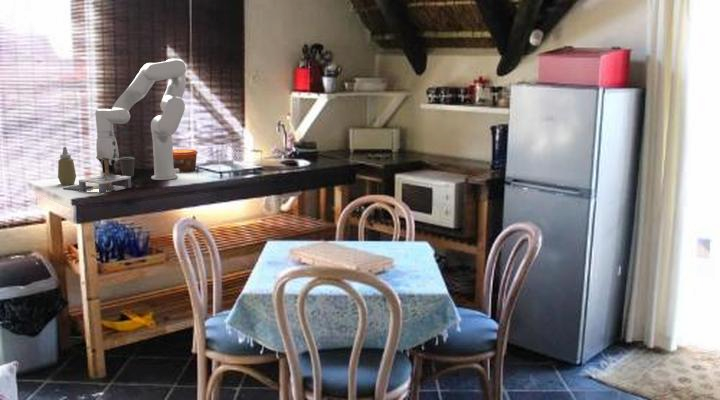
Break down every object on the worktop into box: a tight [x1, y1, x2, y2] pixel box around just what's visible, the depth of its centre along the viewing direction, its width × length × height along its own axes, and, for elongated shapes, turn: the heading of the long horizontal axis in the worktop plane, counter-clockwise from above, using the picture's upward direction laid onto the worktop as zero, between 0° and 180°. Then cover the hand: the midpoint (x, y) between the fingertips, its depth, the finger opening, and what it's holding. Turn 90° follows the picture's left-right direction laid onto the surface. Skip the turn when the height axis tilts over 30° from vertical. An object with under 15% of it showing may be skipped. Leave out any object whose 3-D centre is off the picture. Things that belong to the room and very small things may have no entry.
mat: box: [62, 184, 94, 192], centre depth 326 cm, size 9×9×1 cm
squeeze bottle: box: [57, 146, 77, 186], centre depth 335 cm, size 8×8×18 cm
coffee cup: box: [118, 156, 136, 178], centre depth 360 cm, size 8×8×10 cm
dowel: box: [104, 158, 114, 175], centre depth 339 cm, size 3×3×13 cm
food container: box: [173, 148, 198, 173], centre depth 379 cm, size 16×16×11 cm
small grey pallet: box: [78, 174, 132, 194], centre depth 324 cm, size 18×14×5 cm
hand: (108, 172), depth 340 cm, fingers closed on dowel, 3 cm apart
